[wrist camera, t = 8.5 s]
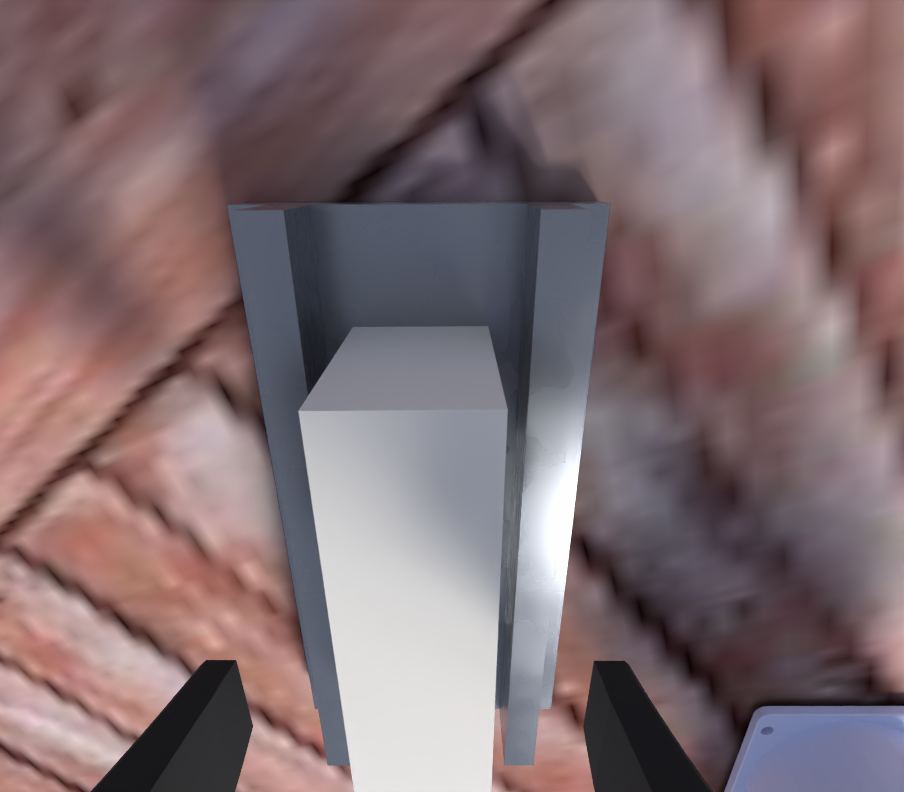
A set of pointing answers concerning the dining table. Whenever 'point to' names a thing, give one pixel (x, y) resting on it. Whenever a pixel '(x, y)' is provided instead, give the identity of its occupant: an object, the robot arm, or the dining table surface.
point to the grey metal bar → (412, 549)
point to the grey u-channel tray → (427, 305)
